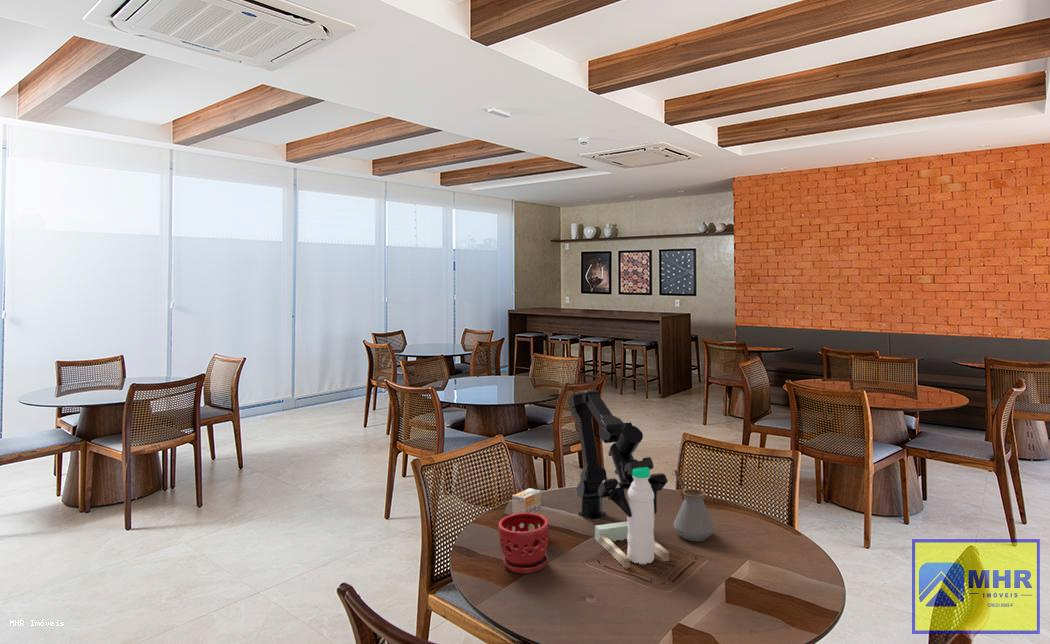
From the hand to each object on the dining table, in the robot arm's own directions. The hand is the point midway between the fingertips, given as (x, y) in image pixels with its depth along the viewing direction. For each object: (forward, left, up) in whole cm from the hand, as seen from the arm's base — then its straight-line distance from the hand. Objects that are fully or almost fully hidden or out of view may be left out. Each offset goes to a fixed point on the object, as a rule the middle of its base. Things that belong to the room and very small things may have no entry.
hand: (643, 514), depth 157 cm
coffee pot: (-27, -2, -13) cm, 30 cm away
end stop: (-8, -13, -13) cm, 20 cm away
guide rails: (-3, -5, -13) cm, 14 cm away
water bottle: (-1, -1, -13) cm, 13 cm away
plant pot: (+23, -22, -13) cm, 34 cm away
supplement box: (+9, -34, -13) cm, 37 cm away
